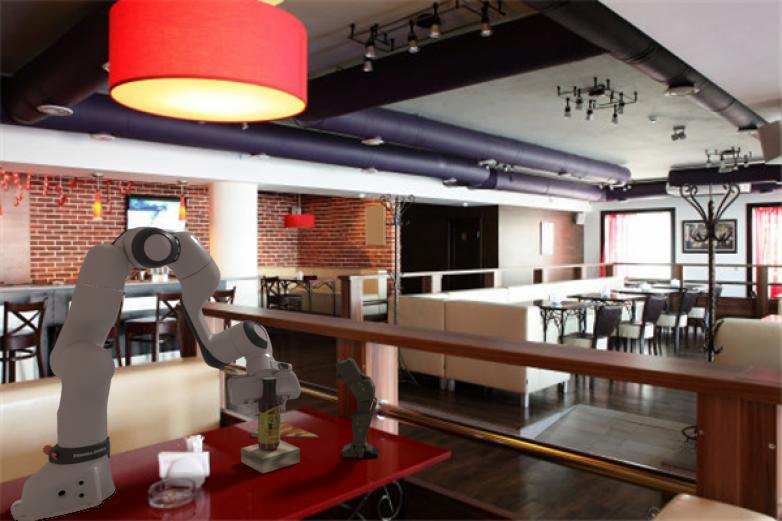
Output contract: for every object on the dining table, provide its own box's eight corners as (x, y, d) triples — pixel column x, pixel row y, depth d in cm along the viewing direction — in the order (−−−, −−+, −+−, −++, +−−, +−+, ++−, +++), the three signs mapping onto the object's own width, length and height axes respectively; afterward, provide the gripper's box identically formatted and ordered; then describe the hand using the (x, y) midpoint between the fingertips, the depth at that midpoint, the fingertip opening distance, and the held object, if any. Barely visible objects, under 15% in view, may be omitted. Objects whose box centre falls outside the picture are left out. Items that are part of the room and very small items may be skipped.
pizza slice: (276, 450, 179) (276, 443, 178) (242, 433, 195) (241, 427, 195) (318, 438, 189) (318, 432, 189) (282, 423, 206) (282, 418, 205)
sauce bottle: (270, 452, 163) (269, 381, 162) (253, 448, 166) (252, 379, 165) (285, 444, 169) (284, 376, 168) (268, 441, 172) (267, 374, 171)
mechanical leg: (392, 447, 175) (367, 351, 176) (389, 456, 168) (363, 356, 168) (348, 457, 177) (323, 362, 177) (344, 466, 170) (318, 367, 170)
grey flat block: (262, 473, 159) (262, 459, 159) (241, 462, 168) (240, 448, 168) (300, 462, 167) (299, 448, 167) (277, 451, 176) (277, 438, 176)
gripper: (227, 370, 169) (234, 412, 160) (296, 363, 177) (306, 403, 169) (225, 382, 173) (231, 423, 164) (292, 375, 182) (301, 414, 173)
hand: (269, 413), depth 167 cm, fingers closed on sauce bottle, 6 cm apart
